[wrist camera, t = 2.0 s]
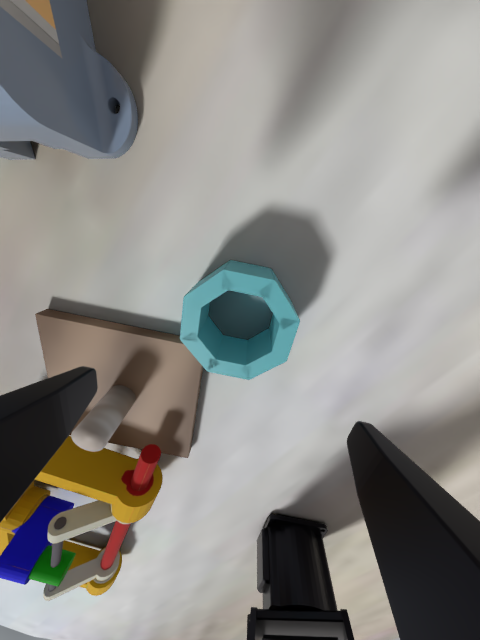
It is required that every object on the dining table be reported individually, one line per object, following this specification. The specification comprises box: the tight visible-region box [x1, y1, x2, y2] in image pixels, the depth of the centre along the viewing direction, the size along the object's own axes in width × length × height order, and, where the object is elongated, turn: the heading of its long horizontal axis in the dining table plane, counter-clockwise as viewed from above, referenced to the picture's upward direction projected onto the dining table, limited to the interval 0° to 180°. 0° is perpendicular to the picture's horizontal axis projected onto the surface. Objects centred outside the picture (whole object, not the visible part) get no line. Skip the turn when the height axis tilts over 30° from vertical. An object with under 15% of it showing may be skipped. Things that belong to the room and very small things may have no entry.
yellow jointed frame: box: [0, 436, 162, 601], centre depth 22 cm, size 18×6×30 cm
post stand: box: [35, 309, 203, 458], centre depth 17 cm, size 12×12×5 cm
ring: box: [180, 260, 300, 380], centre depth 14 cm, size 6×6×3 cm
